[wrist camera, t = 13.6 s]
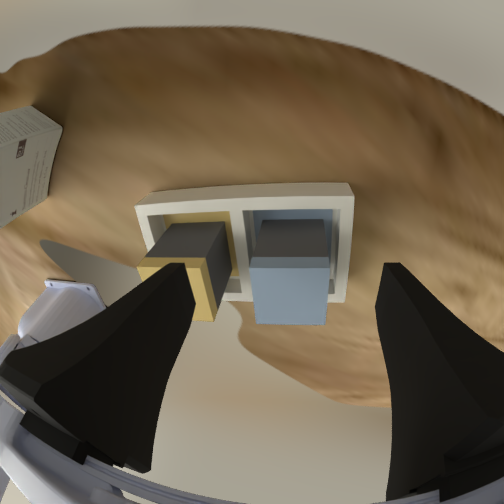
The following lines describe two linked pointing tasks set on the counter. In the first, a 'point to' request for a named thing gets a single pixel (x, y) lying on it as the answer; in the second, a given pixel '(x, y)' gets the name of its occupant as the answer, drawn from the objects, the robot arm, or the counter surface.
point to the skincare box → (25, 160)
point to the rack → (257, 222)
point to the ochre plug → (195, 262)
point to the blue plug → (290, 272)
